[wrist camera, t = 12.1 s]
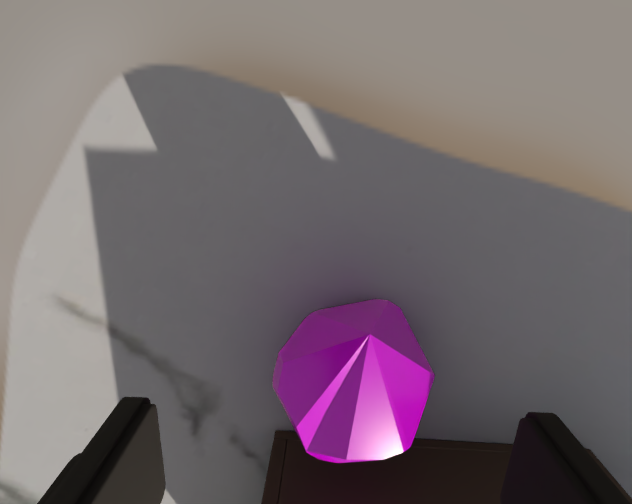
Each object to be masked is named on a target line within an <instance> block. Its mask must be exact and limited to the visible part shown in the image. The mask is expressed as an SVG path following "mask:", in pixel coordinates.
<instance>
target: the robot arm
mask: <svg viewBox="0 0 632 504" xmlns="http://www.w3.org/2000/svg"><path fill="white" fill-rule="evenodd" d="M164 491H165V475H164V466H163V458H162V449H161V441H160V432H159V424H158V416H157V408H156V405H155V404H151V403H150V400H149V399H148V398H142V397H124V398H122V400H121V401H120V402H119V403H118V404H117V406H116V407H115V409H114V410H113V411H112V413H111V414H110V415H109V417H108V418H107V419H106V421H105V422H104V423H103V425H102V426H101V427H100V429H99V430H98V432H97V433H96V434H95V436H94V437H93V438H92V440H91V441H90V442H89V444H88V445H87V446H86V448H85V449H84V450H83V452H82V453H79V454H78V455H76V456H74V457H73V458H72V459H71V460H70V462H69V463H68V464H67V465H66V466H65V468H64V469H63V470H62V472H61V473H60V474H59V476H58V477H57V478H56V480H55V481H54V482H53V484H52V485H51V486H50V488H49V489H48V490H47V492H46V493H45V494H44V496H43V497H42V498H41V499H40V501H39V502H38V503H37V504H160V503H161V501H162V498H163V495H164ZM500 502H501V504H631V503H630V502H629V501H628V500H627V499H626V497H625V496H624V495H623V494H622V493H621V491H620V490H619V489H618V488H617V487H616V485H615V484H614V483H613V482H612V481H611V480H610V478H609V477H608V476H607V475H606V474H605V472H604V471H603V470H602V469H601V468H600V466H599V465H598V464H597V463H596V462H595V460H594V459H593V458H592V457H591V456H590V454H589V453H588V452H587V451H586V450H585V448H584V447H583V446H582V445H581V444H580V442H579V441H578V440H577V439H576V438H575V436H574V435H573V434H572V433H571V432H570V430H569V429H568V428H567V427H566V426H565V424H564V423H563V422H562V421H561V420H560V418H559V417H558V416H557V415H555V414H553V413H539V412H529V413H528V414H526V417H525V418H522V419H521V420H520V422H519V425H518V429H517V433H516V437H515V440H514V444H513V448H512V452H511V456H510V460H509V463H508V467H507V471H506V475H505V479H504V482H503V486H502V490H501V494H500Z"/></svg>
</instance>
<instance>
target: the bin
mask: <svg viewBox="0 0 632 504" xmlns="http://www.w3.org/2000/svg"><path fill="white" fill-rule="evenodd" d="M512 448H513V445H510V444H494V443H477V442H460V441H444V440H427V439H414V440H413V442H412V445H411V447H410V448H409V449H407V450H406V451H405V452H403V453H401V454H398V455H395V456H392V457H389V458H387V459H384V460H374V461H361V462H347V463H334V462H328V461H323V460H319V459H317V458H315V457H313V456H312V455H310V454H308V453H306V451H305V449H304V447H303V445H302V443H301V441H300V439H299V437H298V435H297V433H296V432H293V431H275V435H274V441H273V446H272V451H271V456H270V462H269V467H268V472H267V477H266V483H265V488H264V493H263V498H262V503H261V504H501V502H500V494H501V490H502V486H503V482H504V479H505V475H506V471H507V467H508V463H509V460H510V456H511V452H512ZM585 450H586V451H587V452H588V453H589V454H590V456H591V457H592V458H593V459H594V460H595V462H596V463H597V464H598V465H599V466H600V468H601V469H602V470H603V471H604V472H605V474H606V475H607V476H608V477H609V478H610V480H611V481H612V482H613V483H614V484H615V485H616V487H617V488H618V489H619V490H620V491H621V493H622V494H623V495H624V496H625V497H626V499H627V500H628V501H629V502H630V503H631V504H632V498H631V497H630V496H629V495H628V494H627V493H626V491H625V490H624V489H623V488H622V487H621V486H620V484H619V483H618V482H617V481H616V480H615V478H614V477H613V476H612V475H611V474H610V473H609V471H608V470H607V469H606V468H605V467H604V466H603V464H602V463H601V462H600V461H599V460H598V459H597V458H596V456H595V455H594V454H593V453H592V451H591V450H590V449H585Z"/></svg>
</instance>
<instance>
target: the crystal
mask: <svg viewBox="0 0 632 504" xmlns="http://www.w3.org/2000/svg"><path fill="white" fill-rule="evenodd" d="M434 378H435V374H434V373H433V371H432V369H431V367H430V365H429V363H428V361H427V359H426V357H425V355H424V353H423V351H422V349H421V347H420V345H419V343H418V341H417V340H416V338H415V336H414V334H413V332H412V330H411V328H410V326H409V324H408V322H407V320H406V318H405V316H404V314H403V312H402V310H401V308H399V307H398V306H396V305H395V304H393V303H392V302H390V301H389V300H382V299H372V300H367V301H362V302H356V303H351V304H346V305H341V306H336V307H330V308H325V309H320V310H317V311H314V312H312V313H311V314H309V315H308V316H307V317H306V318H305V319H304V320H303V321H302V323H301V324H300V325H299V327H298V328H297V329H296V330H295V332H294V333H293V334H292V336H291V337H290V338H289V340H288V341H287V342H286V344H285V345H284V346H283V348H282V349H281V350H280V351H279V353H278V357H277V361H276V365H275V368H274V372H273V388H274V390H275V392H276V394H277V396H278V398H279V400H280V402H281V404H282V406H283V408H284V410H285V412H286V414H287V415H288V417H289V419H290V421H291V423H292V425H293V427H294V429H295V431H296V433H297V435H298V437H299V439H300V441H301V443H302V445H303V447H304V449H305V451H306V453H308V454H310V455H312V456H313V457H315V458H317V459H319V460H323V461H328V462H334V463H347V462H361V461H374V460H384V459H387V458H389V457H392V456H395V455H398V454H401V453H403V452H405V451H406V450H407V449H409V448H410V447H411V445H412V442H413V440H414V437H415V434H416V431H417V428H418V425H419V422H420V419H421V416H422V413H423V410H424V407H425V404H426V401H427V398H428V395H429V392H430V390H431V387H432V384H433V381H434Z"/></svg>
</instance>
